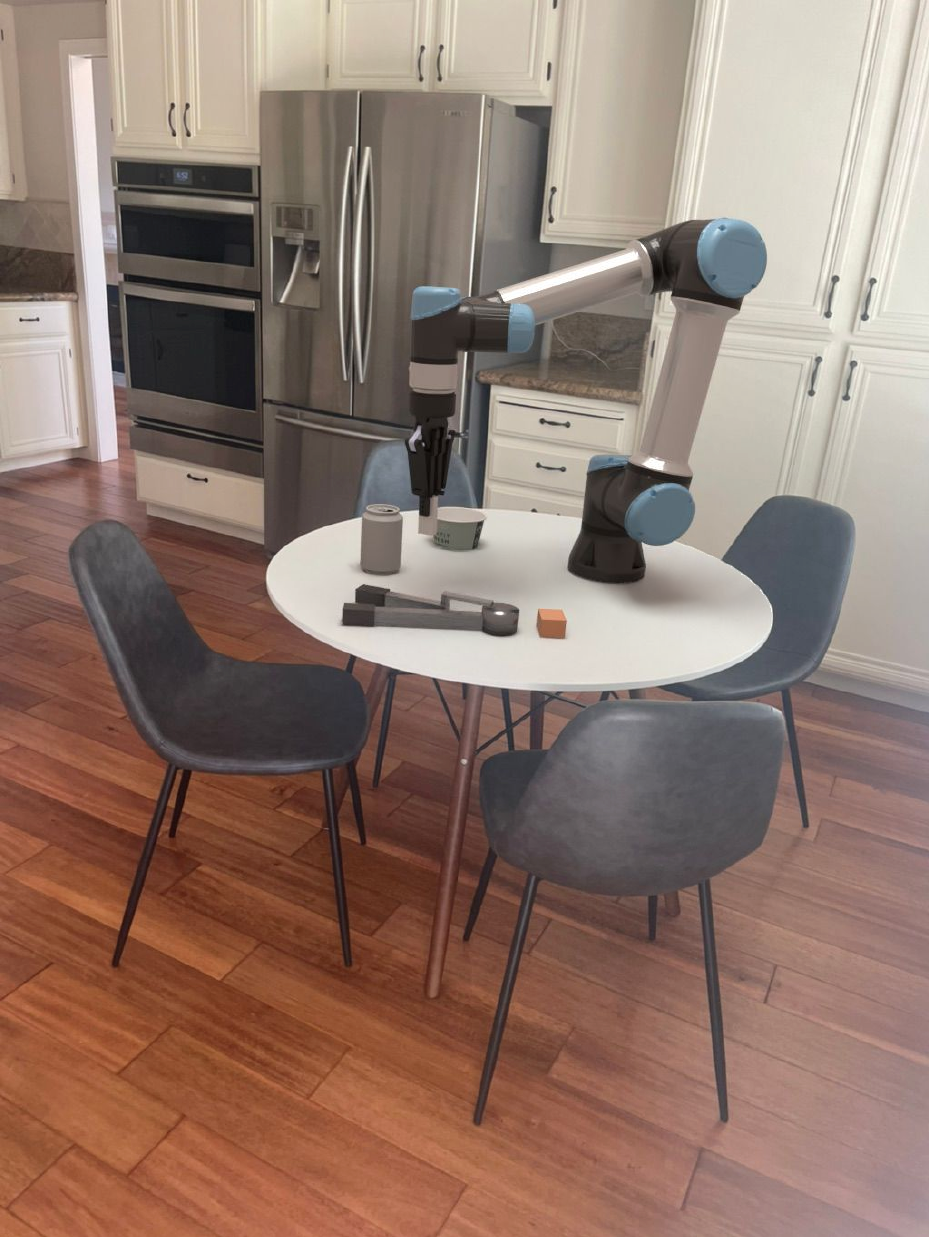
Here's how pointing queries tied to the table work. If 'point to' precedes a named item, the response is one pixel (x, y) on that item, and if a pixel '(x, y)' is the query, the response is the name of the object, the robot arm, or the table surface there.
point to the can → (381, 539)
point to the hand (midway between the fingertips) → (427, 533)
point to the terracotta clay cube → (551, 623)
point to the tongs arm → (411, 599)
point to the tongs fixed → (435, 618)
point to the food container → (458, 528)
